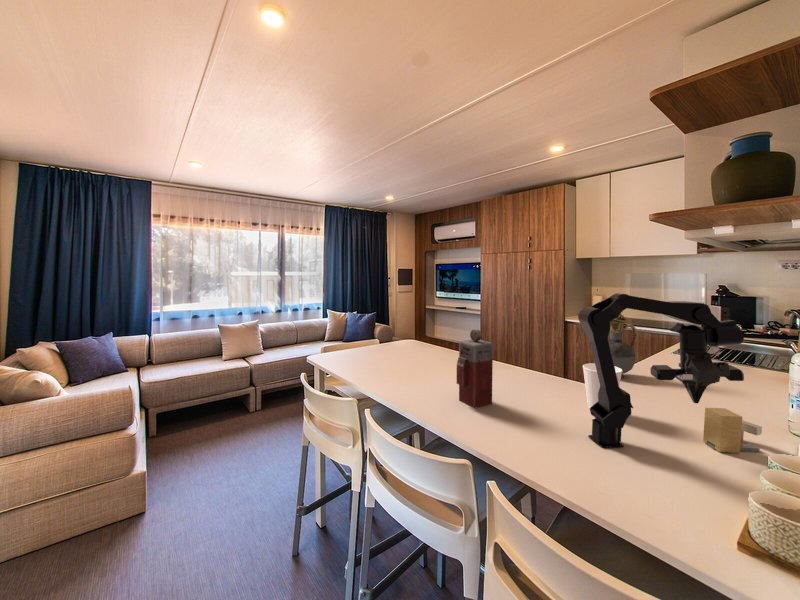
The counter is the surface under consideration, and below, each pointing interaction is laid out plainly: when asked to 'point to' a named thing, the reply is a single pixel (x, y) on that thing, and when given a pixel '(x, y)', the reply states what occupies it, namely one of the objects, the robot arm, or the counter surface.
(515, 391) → the counter surface
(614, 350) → the pitcher
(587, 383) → the cup
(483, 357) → the dark red tall piece
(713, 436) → the tan rectangular block
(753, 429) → the rig
